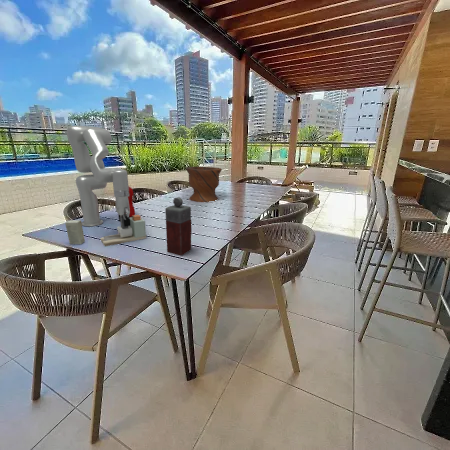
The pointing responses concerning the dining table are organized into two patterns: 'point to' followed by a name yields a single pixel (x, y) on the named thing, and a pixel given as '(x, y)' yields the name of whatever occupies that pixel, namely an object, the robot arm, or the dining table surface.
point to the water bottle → (132, 210)
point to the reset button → (136, 217)
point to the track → (118, 239)
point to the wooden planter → (203, 183)
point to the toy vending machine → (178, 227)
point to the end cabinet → (138, 228)
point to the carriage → (124, 229)
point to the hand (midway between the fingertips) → (124, 223)
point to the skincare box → (75, 231)
